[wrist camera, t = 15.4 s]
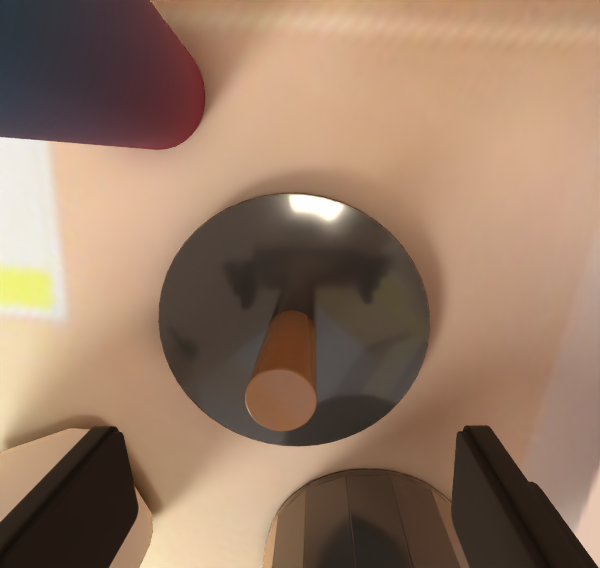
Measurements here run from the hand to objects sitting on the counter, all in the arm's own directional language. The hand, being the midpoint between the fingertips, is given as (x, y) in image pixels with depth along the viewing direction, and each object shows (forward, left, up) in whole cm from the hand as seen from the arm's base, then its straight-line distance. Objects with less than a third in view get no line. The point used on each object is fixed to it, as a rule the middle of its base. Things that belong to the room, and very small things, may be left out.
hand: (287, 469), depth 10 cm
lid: (0, 0, -10) cm, 10 cm away
